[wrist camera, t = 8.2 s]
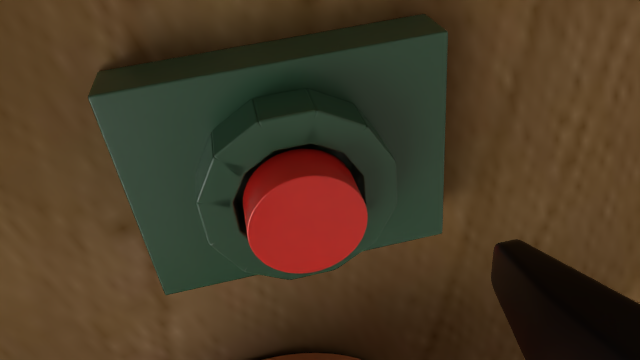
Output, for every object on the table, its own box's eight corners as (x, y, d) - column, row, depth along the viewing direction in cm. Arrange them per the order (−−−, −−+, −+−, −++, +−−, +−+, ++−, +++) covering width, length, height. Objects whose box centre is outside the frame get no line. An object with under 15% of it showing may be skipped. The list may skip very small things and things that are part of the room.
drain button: (253, 252, 20) (258, 285, 18) (231, 161, 17) (235, 190, 16) (358, 229, 20) (371, 259, 18) (350, 137, 18) (364, 164, 16)
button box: (167, 260, 23) (163, 330, 20) (97, 71, 18) (76, 122, 15) (424, 204, 25) (460, 261, 21) (425, 13, 20) (472, 48, 16)
